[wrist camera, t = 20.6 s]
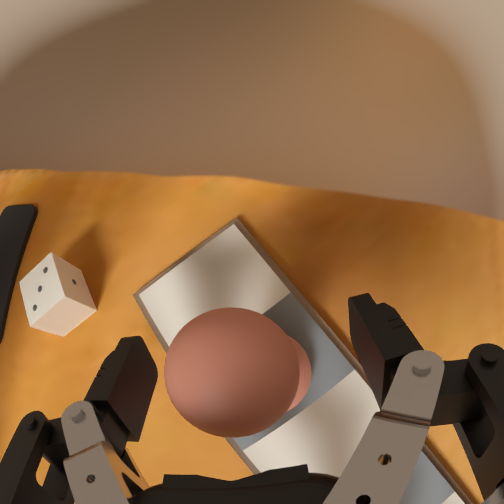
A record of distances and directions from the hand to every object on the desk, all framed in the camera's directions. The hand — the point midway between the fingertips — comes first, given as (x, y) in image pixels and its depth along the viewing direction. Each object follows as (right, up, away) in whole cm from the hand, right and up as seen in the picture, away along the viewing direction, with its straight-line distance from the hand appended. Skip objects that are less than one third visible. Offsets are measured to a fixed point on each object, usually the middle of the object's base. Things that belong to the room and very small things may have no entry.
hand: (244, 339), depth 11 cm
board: (+5, -8, +4) cm, 10 cm away
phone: (-26, +1, +14) cm, 29 cm away
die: (-14, -1, +10) cm, 17 cm away
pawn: (+1, -4, +6) cm, 7 cm away
